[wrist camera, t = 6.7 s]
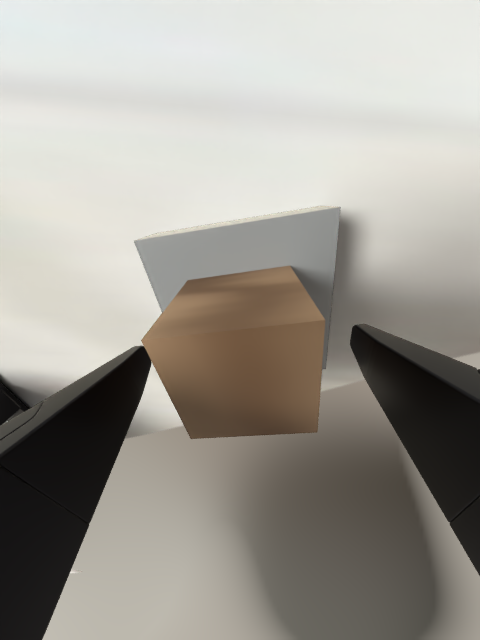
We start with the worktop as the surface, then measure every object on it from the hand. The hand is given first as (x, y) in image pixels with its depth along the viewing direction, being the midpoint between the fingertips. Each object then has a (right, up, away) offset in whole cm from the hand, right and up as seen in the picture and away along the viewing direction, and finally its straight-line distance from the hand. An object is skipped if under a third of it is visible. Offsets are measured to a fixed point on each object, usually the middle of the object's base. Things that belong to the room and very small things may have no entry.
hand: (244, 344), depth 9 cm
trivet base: (0, +3, +5) cm, 6 cm away
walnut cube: (0, +1, +2) cm, 3 cm away
